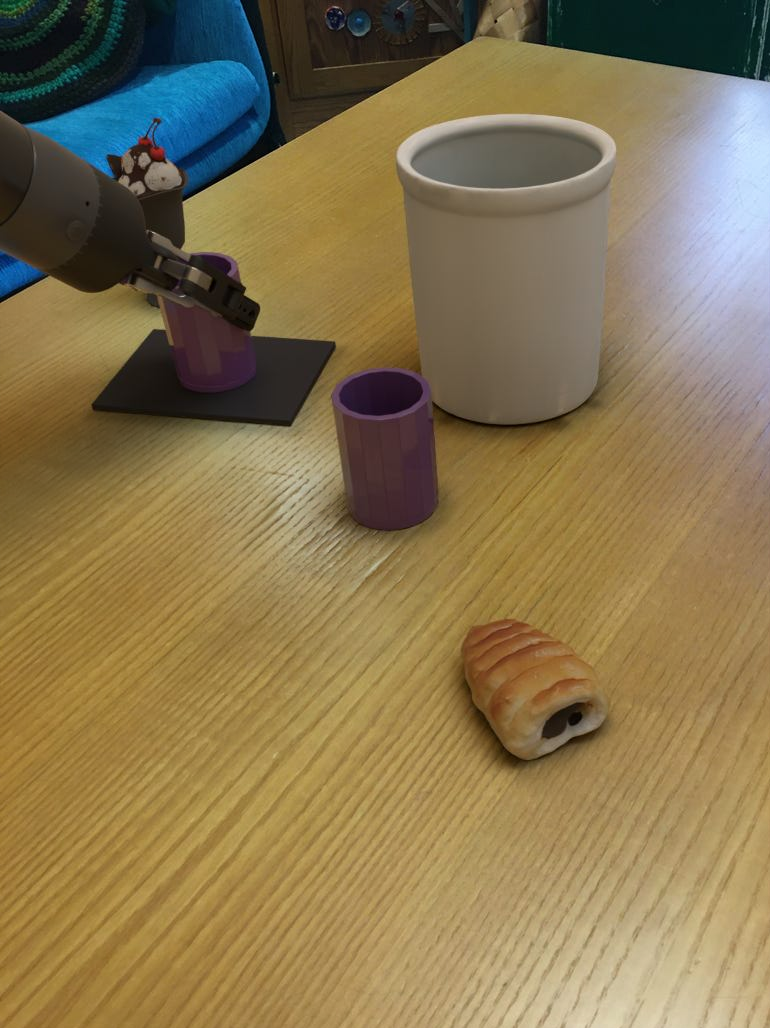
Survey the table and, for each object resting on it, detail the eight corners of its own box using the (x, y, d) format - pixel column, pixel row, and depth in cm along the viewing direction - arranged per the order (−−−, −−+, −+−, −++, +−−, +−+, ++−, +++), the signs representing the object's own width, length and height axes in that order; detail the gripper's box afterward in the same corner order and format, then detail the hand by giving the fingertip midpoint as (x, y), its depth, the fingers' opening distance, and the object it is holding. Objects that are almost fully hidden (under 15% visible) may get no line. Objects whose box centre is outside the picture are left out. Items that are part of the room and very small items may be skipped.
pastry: (432, 666, 63) (428, 617, 61) (531, 624, 66) (532, 575, 63) (517, 775, 57) (517, 726, 55) (623, 724, 60) (628, 675, 57)
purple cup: (166, 390, 85) (139, 286, 80) (195, 350, 90) (172, 249, 84) (241, 395, 84) (219, 291, 79) (268, 355, 89) (249, 254, 83)
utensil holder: (410, 339, 91) (391, 116, 79) (588, 325, 92) (597, 103, 80) (419, 437, 80) (399, 198, 68) (620, 422, 81) (636, 182, 69)
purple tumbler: (336, 525, 73) (319, 415, 67) (361, 471, 78) (347, 364, 72) (426, 534, 72) (417, 423, 66) (446, 479, 77) (439, 370, 71)
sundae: (225, 297, 97) (188, 120, 87) (154, 320, 95) (107, 140, 84) (195, 271, 101) (156, 98, 91) (126, 292, 99) (78, 117, 88)
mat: (92, 410, 85) (90, 404, 84) (154, 334, 93) (153, 328, 93) (290, 426, 82) (289, 420, 82) (336, 346, 90) (335, 341, 90)
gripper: (150, 175, 66) (309, 283, 81) (0, 133, 73) (173, 241, 88) (106, 292, 67) (272, 378, 82) (-39, 241, 73) (140, 330, 88)
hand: (220, 307), depth 85 cm, fingers closed on purple cup, 6 cm apart
